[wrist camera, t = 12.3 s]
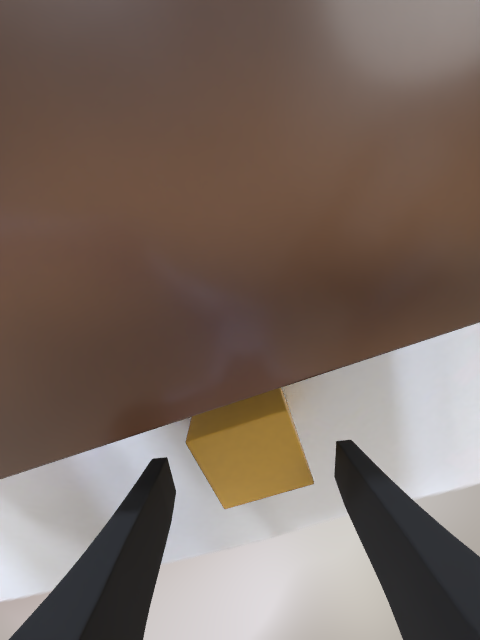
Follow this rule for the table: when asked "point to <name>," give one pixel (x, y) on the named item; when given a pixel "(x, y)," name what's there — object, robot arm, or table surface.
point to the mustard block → (249, 449)
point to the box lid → (224, 202)
